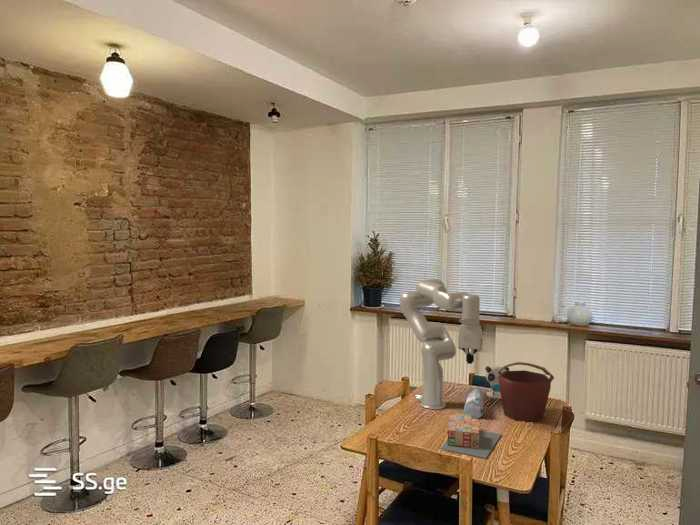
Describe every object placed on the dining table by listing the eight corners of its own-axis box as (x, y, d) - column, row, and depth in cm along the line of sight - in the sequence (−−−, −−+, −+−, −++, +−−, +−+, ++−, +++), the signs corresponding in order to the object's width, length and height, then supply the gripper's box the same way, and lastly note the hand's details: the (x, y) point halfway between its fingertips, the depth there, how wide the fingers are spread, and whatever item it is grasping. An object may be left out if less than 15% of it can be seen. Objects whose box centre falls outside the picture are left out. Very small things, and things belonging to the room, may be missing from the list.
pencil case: (483, 420, 237) (483, 399, 236) (463, 418, 239) (464, 398, 239) (484, 405, 257) (484, 386, 257) (466, 403, 260) (466, 385, 259)
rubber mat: (440, 449, 205) (440, 448, 205) (459, 427, 228) (459, 426, 228) (485, 459, 196) (485, 457, 196) (501, 435, 219) (501, 434, 219)
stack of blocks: (449, 412, 228) (478, 414, 225) (449, 426, 228) (478, 428, 225) (447, 430, 207) (479, 433, 204) (447, 445, 207) (479, 448, 205)
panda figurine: (488, 398, 268) (489, 369, 267) (482, 391, 279) (483, 364, 278) (511, 398, 268) (512, 369, 267) (505, 391, 279) (505, 364, 278)
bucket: (559, 417, 241) (560, 363, 240) (538, 429, 225) (539, 373, 224) (510, 404, 258) (511, 354, 257) (487, 415, 243) (488, 362, 241)
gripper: (451, 322, 231) (451, 363, 232) (485, 325, 224) (484, 367, 225) (456, 319, 238) (456, 359, 239) (489, 322, 231) (488, 363, 232)
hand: (469, 363), depth 232 cm, fingers closed
